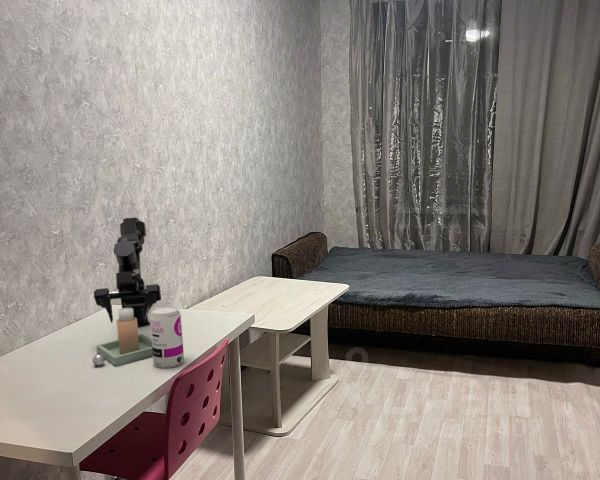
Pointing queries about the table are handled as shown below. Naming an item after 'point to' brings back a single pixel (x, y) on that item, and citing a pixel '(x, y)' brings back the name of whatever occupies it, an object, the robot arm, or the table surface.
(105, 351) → the tray
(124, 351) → the shaker
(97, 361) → the ball
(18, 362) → the table surface
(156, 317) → the supplement can
